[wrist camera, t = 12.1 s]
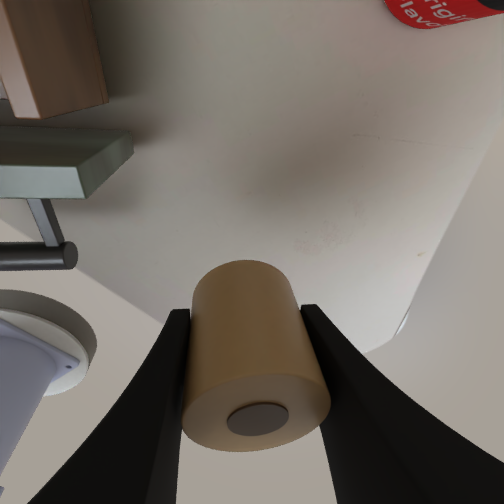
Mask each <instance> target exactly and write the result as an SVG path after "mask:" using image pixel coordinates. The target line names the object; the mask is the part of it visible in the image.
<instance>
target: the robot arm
mask: <svg viewBox="0 0 504 504" xmlns="http://www.w3.org/2000/svg"><path fill="white" fill-rule="evenodd" d="M300 313H301V315H302V318H303V321H304V324H305V326H306V329H307V332H308V335H309V338H310V340H311V343H312V346H313V349H314V351H315V354H316V357H317V360H318V363H319V365H320V368H321V371H322V374H323V376H324V379H325V382H326V385H327V387H328V390H329V393H330V397H331V407H330V411H329V413H328V415H327V417H326V418H325V419H324V421H323V422H322V423H321V424H320V425H319V426H320V429H321V433H322V437H323V441H324V446H325V450H326V454H327V458H328V463H329V467H330V471H331V476H332V481H333V485H334V490H335V495H336V499H337V504H504V463H503V462H501V461H500V460H498V459H496V458H495V457H493V456H492V455H490V454H488V453H487V452H485V451H483V450H482V449H481V448H479V447H478V446H476V445H475V444H473V443H472V442H470V441H469V440H467V439H466V438H464V437H463V436H461V435H460V434H458V433H457V432H456V431H454V430H453V429H451V428H450V427H448V426H447V425H445V424H444V423H443V422H441V421H440V420H439V419H437V418H436V417H435V416H433V415H432V414H431V413H429V412H428V411H427V410H425V409H424V408H423V407H422V406H420V405H419V404H418V403H416V402H415V401H413V400H412V399H411V398H410V397H408V396H407V395H406V394H405V393H404V392H403V391H401V390H400V389H399V388H398V387H397V386H395V385H394V384H393V383H392V382H391V381H390V380H389V379H387V378H386V377H385V376H384V375H383V374H382V373H381V372H380V371H379V370H378V369H376V368H375V367H374V366H373V365H372V364H371V363H370V362H369V361H368V360H367V359H366V358H365V357H364V356H363V355H362V354H361V353H360V352H359V351H358V350H357V349H356V348H355V347H354V346H353V345H352V343H351V342H350V341H349V340H348V339H347V338H346V337H345V336H344V335H343V334H342V333H341V332H340V331H339V329H338V328H337V327H336V326H335V325H334V324H333V323H332V322H331V320H330V319H329V318H328V317H327V316H326V315H325V314H324V312H323V311H322V310H321V309H320V308H319V307H318V306H317V305H316V304H308V305H301V309H300ZM189 330H190V309H173V310H172V311H171V312H170V314H169V316H168V318H167V321H166V323H165V325H164V327H163V329H162V331H161V333H160V335H159V337H158V338H157V340H156V342H155V343H154V345H153V347H152V349H151V350H150V352H149V354H148V356H147V357H146V359H145V360H144V362H143V363H142V365H141V367H140V368H139V370H138V371H137V373H136V374H135V376H134V377H133V379H132V380H131V382H130V383H129V385H128V386H127V387H126V389H125V390H124V392H123V393H122V394H121V396H120V397H119V398H118V400H117V401H116V403H115V404H114V405H113V406H112V408H111V409H110V410H109V412H108V413H107V414H106V416H105V417H104V418H103V419H102V420H101V422H100V423H99V424H98V425H97V427H96V428H95V429H94V430H93V432H92V433H91V434H90V435H89V436H88V438H87V439H86V440H85V441H84V442H83V443H82V445H81V446H80V447H79V448H78V449H77V450H76V451H75V453H74V454H73V455H72V456H71V457H70V458H69V459H68V460H67V462H66V463H65V464H64V465H63V466H62V467H61V468H60V469H59V470H58V471H57V472H56V474H55V475H54V476H53V477H52V478H51V479H50V480H49V481H48V482H47V483H46V484H45V485H44V487H43V488H42V489H41V490H40V491H39V492H38V493H37V494H36V495H35V496H34V497H33V498H32V499H31V500H30V501H29V502H28V503H27V504H176V493H177V478H178V464H179V450H180V441H181V432H182V426H181V408H182V398H183V388H184V378H185V368H186V358H187V349H188V340H189ZM79 363H80V361H79V360H78V359H77V358H75V357H73V356H71V355H69V354H67V353H65V352H63V351H62V350H60V349H58V348H56V347H54V346H52V345H50V344H48V343H46V342H44V341H43V340H41V339H39V338H37V337H35V336H33V335H31V334H29V333H27V332H25V331H23V330H22V329H20V328H18V327H16V326H14V325H12V324H10V323H8V322H6V321H4V320H2V319H1V318H0V475H1V473H2V471H3V469H4V468H5V466H6V464H7V462H8V460H9V458H10V457H11V454H12V452H13V451H14V449H15V447H16V445H17V443H18V441H19V440H20V438H21V436H22V434H23V432H24V430H25V429H26V427H27V425H28V423H29V421H30V419H31V417H32V416H33V413H34V412H35V410H36V408H37V406H38V404H39V403H40V401H41V399H42V397H43V395H44V393H45V391H46V390H47V388H48V386H49V384H50V383H52V382H54V381H55V380H57V379H58V378H60V377H62V376H63V375H65V374H66V373H68V372H70V371H71V370H73V369H75V368H76V367H78V365H79ZM3 490H4V487H1V486H0V496H1V494H2V492H3Z"/></svg>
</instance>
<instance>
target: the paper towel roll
mask: <svg viewBox="0 0 504 504" xmlns="http://www.w3.org/2000/svg"><path fill="white" fill-rule="evenodd" d="M330 407H331V397H330V393H329V390H328V387H327V385H326V382H325V379H324V376H323V374H322V371H321V368H320V365H319V363H318V360H317V357H316V354H315V351H314V349H313V346H312V343H311V340H310V338H309V335H308V332H307V329H306V326H305V324H304V321H303V318H302V315H301V313H300V310H299V307H298V304H297V302H296V299H295V296H294V293H293V290H292V288H291V285H290V283H289V281H288V279H287V278H286V276H285V275H284V274H283V273H282V272H281V271H279V270H278V269H277V268H275V267H273V266H272V265H269V264H267V263H264V262H260V261H254V260H238V261H232V262H229V263H225V264H223V265H220V266H218V267H216V268H214V269H213V270H211V271H210V272H208V273H207V274H206V275H205V276H204V277H203V278H202V279H201V280H200V281H199V283H198V284H197V286H196V288H195V290H194V293H193V299H192V309H191V319H190V330H189V340H188V349H187V358H186V368H185V378H184V388H183V398H182V408H181V426H182V429H183V431H184V433H185V434H186V435H187V436H188V438H190V439H191V440H193V441H194V442H196V443H197V444H200V445H202V446H204V447H207V448H211V449H215V450H220V451H229V452H248V451H258V450H264V449H269V448H273V447H277V446H281V445H284V444H287V443H289V442H292V441H294V440H297V439H299V438H301V437H303V436H304V435H306V434H308V433H309V432H311V431H312V430H314V429H315V428H316V427H318V426H319V425H320V424H321V423H322V422H323V421H324V419H325V418H326V417H327V415H328V413H329V411H330Z"/></svg>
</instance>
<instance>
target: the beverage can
mask: <svg viewBox="0 0 504 504" xmlns="http://www.w3.org/2000/svg"><path fill="white" fill-rule="evenodd" d="M384 1H385V3H386V5H387V7H388V8H389V10H390V11H391V12H392V14H393V15H394V16H395V17H396V18H397V19H399V20H400V21H401V22H403V23H405V24H407V25H409V26H411V27H415V28H419V29H431V28H436V27H441V26H446V25H450V24H455V23H459V22H464V21H469V20H473V19H478V18H483V17H487V16H492V15H496V14H501V13H504V0H384Z"/></svg>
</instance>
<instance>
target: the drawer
mask: <svg viewBox="0 0 504 504" xmlns="http://www.w3.org/2000/svg"><path fill="white" fill-rule="evenodd" d="M0 99H7V100H9V103H10V105H11V108H12V111H13V113H14V116H15V117H16V118H18V119H30V120H43V119H47V118H51V117H55V116H59V115H63V114H67V113H70V112H74V111H78V110H82V109H86V108H90V107H94V106H98V105H102V104H107V103H109V99H108V94H107V90H106V85H105V80H104V75H103V70H102V65H101V60H100V55H99V50H98V45H97V40H96V35H95V30H94V25H93V20H92V16H91V11H90V6H89V1H88V0H0ZM133 154H134V149H133V144H132V138H131V132H130V131H120V130H94V129H68V128H43V127H17V126H0V198H16V199H27V202H28V204H29V206H30V209H31V211H32V214H33V216H34V218H35V221H36V223H37V226H38V228H39V230H40V233H41V235H42V237H43V240H44V242H0V271H21V270H22V271H23V270H67V269H68V270H69V269H73V268H74V267H75V266H76V264H77V261H78V251H77V247H76V245H75V244H74V243H73V242H70V241H65V239H64V237H63V234H62V231H61V229H60V226H59V223H58V220H57V218H56V215H55V212H54V210H53V207H52V204H51V201H50V199H87V198H88V197H89V196H90V195H91V194H92V193H93V192H94V191H95V190H96V189H97V188H98V187H100V186H101V185H102V184H103V183H104V182H105V181H106V180H107V179H108V178H109V177H110V176H111V175H112V174H113V173H114V172H115V171H116V170H117V169H118V168H119V167H120V166H121V165H122V164H124V163H125V162H126V161H127V160H128V159H129V158H130V157H131V156H132V155H133Z"/></svg>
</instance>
